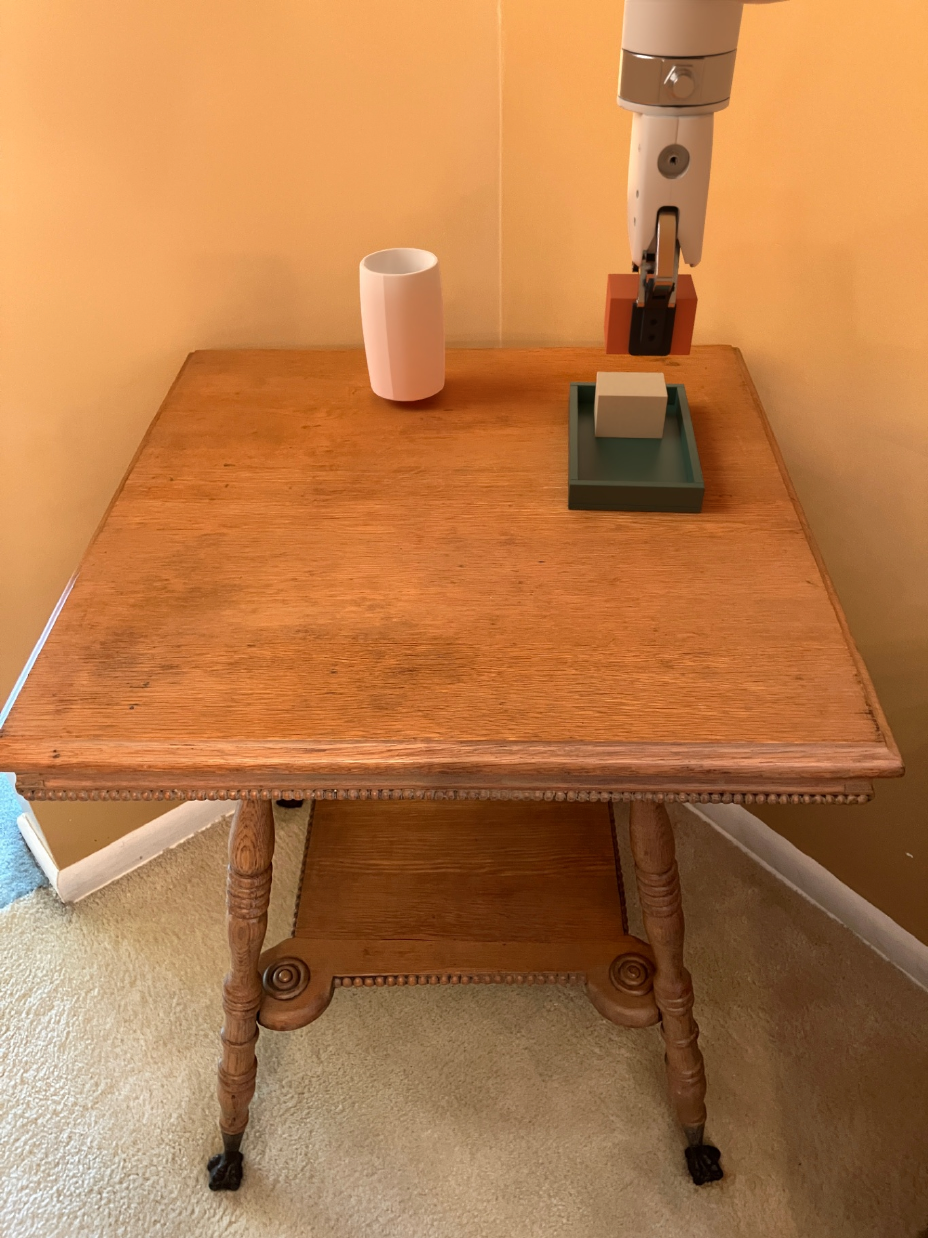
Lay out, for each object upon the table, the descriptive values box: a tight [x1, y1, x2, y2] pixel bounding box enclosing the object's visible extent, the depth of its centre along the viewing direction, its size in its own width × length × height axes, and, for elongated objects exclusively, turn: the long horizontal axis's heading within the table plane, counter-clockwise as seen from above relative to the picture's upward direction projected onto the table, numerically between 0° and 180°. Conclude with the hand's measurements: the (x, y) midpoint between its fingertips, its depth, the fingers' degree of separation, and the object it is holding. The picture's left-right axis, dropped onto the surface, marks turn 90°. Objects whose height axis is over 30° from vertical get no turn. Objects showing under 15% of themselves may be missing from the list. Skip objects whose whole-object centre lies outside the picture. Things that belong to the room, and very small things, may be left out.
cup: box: [359, 247, 446, 402], centre depth 94 cm, size 8×8×14 cm
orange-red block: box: [603, 273, 699, 356], centre depth 72 cm, size 5×6×4 cm
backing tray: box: [567, 381, 706, 514], centre depth 87 cm, size 20×12×3 cm, turn 175°
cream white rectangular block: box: [594, 371, 668, 438], centre depth 90 cm, size 5×6×4 cm
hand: (646, 336), depth 73 cm, fingers closed on orange-red block, 5 cm apart
